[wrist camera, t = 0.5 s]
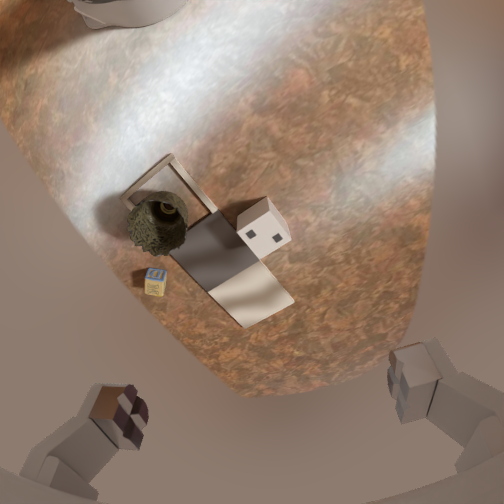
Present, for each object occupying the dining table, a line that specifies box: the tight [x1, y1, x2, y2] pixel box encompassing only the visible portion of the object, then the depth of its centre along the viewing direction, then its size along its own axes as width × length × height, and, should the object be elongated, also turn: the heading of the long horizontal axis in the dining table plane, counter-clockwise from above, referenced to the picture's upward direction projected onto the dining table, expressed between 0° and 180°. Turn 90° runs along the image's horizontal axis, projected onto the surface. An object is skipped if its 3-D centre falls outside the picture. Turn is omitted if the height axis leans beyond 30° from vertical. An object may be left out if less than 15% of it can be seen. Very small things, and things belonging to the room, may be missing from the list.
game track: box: [119, 153, 294, 329], centre depth 47 cm, size 30×10×1 cm, turn 36°
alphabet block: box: [145, 268, 167, 297], centre depth 48 cm, size 3×3×3 cm
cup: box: [127, 191, 188, 257], centre depth 40 cm, size 8×7×8 cm
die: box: [237, 197, 291, 260], centre depth 43 cm, size 5×5×5 cm
